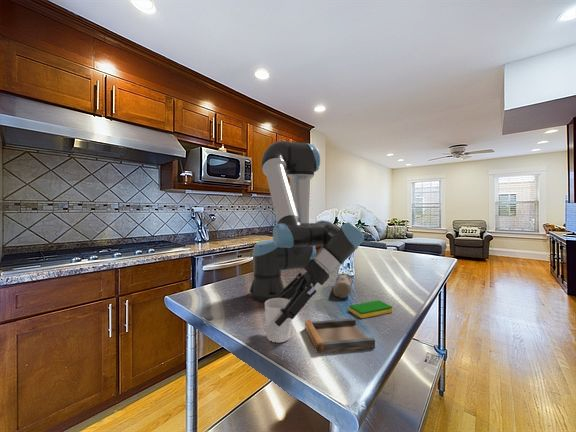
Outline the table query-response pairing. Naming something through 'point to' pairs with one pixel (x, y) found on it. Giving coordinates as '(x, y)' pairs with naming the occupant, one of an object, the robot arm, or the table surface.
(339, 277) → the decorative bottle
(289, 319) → the white cup
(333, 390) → the table surface
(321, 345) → the wooden tray
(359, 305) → the dish sponge
